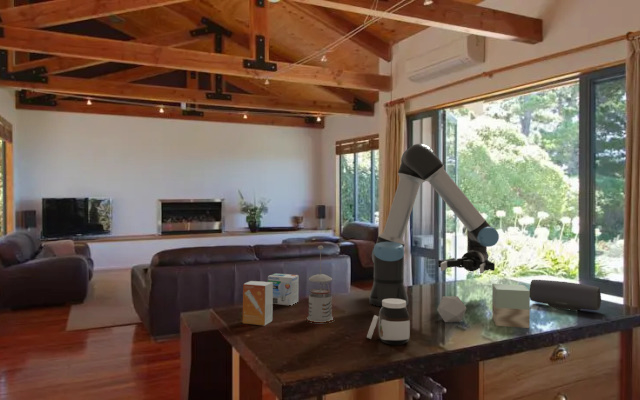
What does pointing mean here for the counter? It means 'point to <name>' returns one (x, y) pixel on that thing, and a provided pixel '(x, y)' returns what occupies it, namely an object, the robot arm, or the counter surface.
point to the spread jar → (392, 322)
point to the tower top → (511, 296)
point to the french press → (320, 298)
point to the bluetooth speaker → (565, 295)
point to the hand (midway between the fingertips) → (461, 268)
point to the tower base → (510, 317)
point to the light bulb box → (284, 288)
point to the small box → (257, 302)
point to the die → (451, 309)
